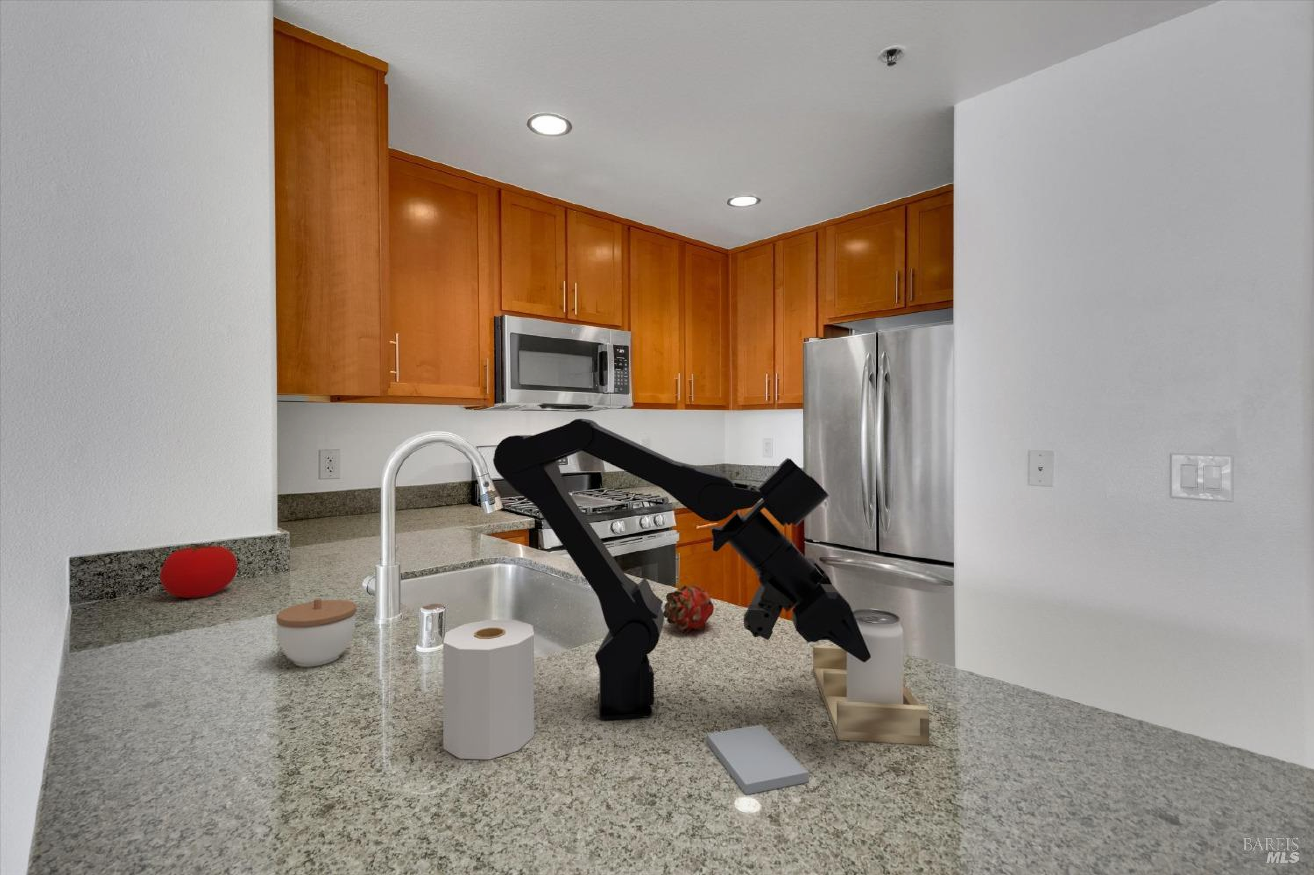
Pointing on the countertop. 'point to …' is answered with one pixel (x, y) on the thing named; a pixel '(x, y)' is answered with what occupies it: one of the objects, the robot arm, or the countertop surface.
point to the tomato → (198, 571)
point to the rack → (866, 706)
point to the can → (877, 660)
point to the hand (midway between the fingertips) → (858, 645)
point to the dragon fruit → (688, 608)
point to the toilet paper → (488, 688)
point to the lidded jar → (316, 631)
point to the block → (756, 759)
